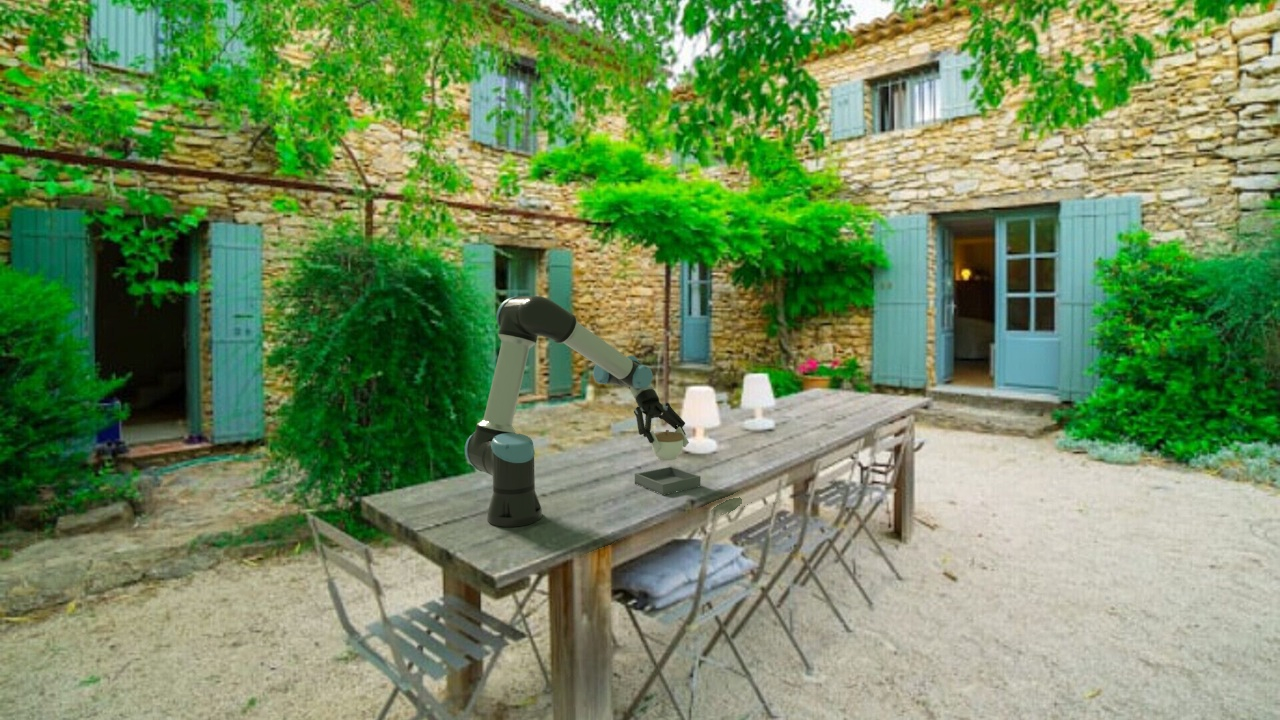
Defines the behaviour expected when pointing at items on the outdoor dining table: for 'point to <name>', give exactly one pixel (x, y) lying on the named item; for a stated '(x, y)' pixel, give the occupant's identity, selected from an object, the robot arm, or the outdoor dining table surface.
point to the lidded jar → (669, 445)
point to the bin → (667, 480)
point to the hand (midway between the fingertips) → (672, 447)
